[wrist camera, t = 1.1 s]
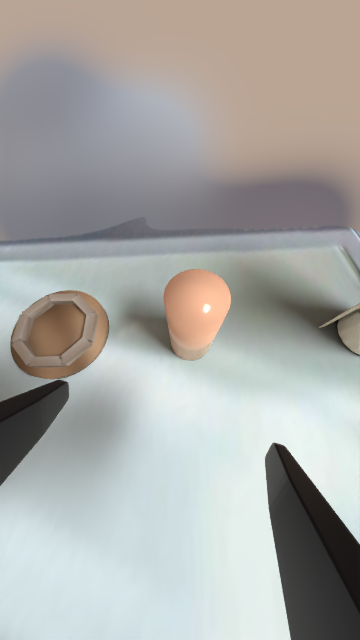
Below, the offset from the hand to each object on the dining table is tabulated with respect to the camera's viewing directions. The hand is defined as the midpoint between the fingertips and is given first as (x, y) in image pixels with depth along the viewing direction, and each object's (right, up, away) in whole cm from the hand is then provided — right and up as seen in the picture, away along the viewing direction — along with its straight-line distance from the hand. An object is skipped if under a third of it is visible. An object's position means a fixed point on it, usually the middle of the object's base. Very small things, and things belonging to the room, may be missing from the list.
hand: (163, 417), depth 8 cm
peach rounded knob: (+2, +2, +15) cm, 15 cm away
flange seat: (-14, +3, +16) cm, 21 cm away
